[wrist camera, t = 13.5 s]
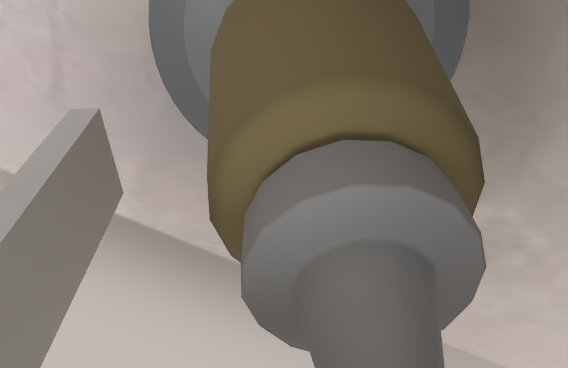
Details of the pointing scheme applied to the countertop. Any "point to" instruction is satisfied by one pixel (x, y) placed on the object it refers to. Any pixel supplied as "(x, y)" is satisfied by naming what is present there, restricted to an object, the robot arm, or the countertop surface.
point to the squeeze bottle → (343, 179)
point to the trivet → (206, 21)
